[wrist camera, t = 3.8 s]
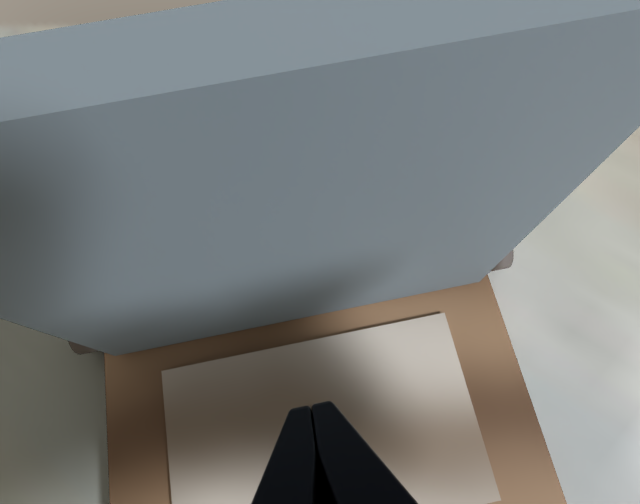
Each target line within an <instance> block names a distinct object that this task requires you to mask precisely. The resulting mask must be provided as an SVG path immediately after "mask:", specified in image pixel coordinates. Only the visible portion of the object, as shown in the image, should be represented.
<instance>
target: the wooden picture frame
mask: <svg viewBox="0 0 640 504" xmlns="http://www.w3.org/2000/svg"><path fill="white" fill-rule="evenodd" d="M512 262H513V250H512V251H511V252H510V253H509V254H507V255H506V256H505V257H504V258H503V259H502V260H501V261H500V262H499V263H498V264H497V265H496V266H495V267H494V268H493V269H492V270H491V271H495V270H500V269H505V268H509V267H510V266H511V265H512ZM68 342H69V344H70V346H71V348H72V350H73V351H74V352H75V353H77V354H85V353H90V352H95V351H98V350H95V349H92V348H89V347H86V346H83V345H80V344H77V343H74V342H71V341H68ZM104 362H105V389H106V415H107V442H108V469H109V495H110V504H251V503H252V500H253V498H254V495H255V493H256V491H257V488H258V486H259V483H260V481H261V478H262V476H263V473H264V471H265V468H266V466H267V464H268V461H269V459H270V456H271V454H272V451H273V449H274V446H275V444H276V442H277V439H278V437H279V434H280V432H281V429H282V427H283V424H284V422H285V419H286V417H287V415H288V412H289V411H290V410H291V409H292V408H297V407H302V406H306V405H308V406H310V407H312V405H313V404H316V403H320V402H325V401H332V402H333V403H334V404H335V405H336V407H337V408H338V409H339V410H340V411H341V412H342V414H343V415H344V416H345V417H346V418H347V420H348V421H349V422H350V423H351V424H352V426H353V427H354V428H355V429H356V430H357V431H358V433H359V434H360V435H361V436H362V437H363V439H364V440H365V441H366V442H367V443H368V444H369V446H370V447H371V448H372V449H373V450H374V452H375V453H376V454H377V455H378V456H379V458H380V459H381V460H382V461H383V462H384V463H385V465H386V466H387V467H388V468H389V469H390V471H391V472H392V473H393V474H394V475H395V477H396V478H397V479H398V480H399V481H400V482H401V484H402V485H403V486H404V487H405V488H406V490H407V491H408V492H409V493H410V494H411V496H412V497H413V498H414V499H415V500H416V501H417V503H418V504H567V503H566V500H565V497H564V494H563V491H562V489H561V486H560V483H559V480H558V477H557V474H556V471H555V468H554V465H553V462H552V460H551V457H550V454H549V451H548V448H547V445H546V442H545V439H544V436H543V434H542V431H541V428H540V425H539V422H538V419H537V416H536V413H535V410H534V408H533V405H532V402H531V399H530V396H529V393H528V390H527V387H526V384H525V382H524V379H523V376H522V373H521V370H520V367H519V364H518V361H517V358H516V356H515V353H514V350H513V347H512V344H511V341H510V338H509V335H508V332H507V330H506V327H505V324H504V321H503V318H502V315H501V312H500V309H499V306H498V304H497V301H496V298H495V295H494V292H493V289H492V286H491V283H490V280H489V278H488V275H486V276H485V277H484V278H483V279H482V280H481V281H480V282H476V283H471V284H467V285H462V286H457V287H452V288H447V289H442V290H437V291H432V292H427V293H422V294H417V295H413V296H408V297H403V298H398V299H393V300H388V301H383V302H378V303H373V304H368V305H363V306H358V307H354V308H349V309H344V310H339V311H334V312H329V313H324V314H319V315H314V316H309V317H304V318H300V319H295V320H290V321H285V322H280V323H275V324H270V325H265V326H260V327H255V328H250V329H245V330H241V331H236V332H231V333H226V334H221V335H216V336H211V337H206V338H201V339H196V340H191V341H187V342H182V343H177V344H172V345H167V346H162V347H157V348H152V349H147V350H142V351H137V352H132V353H128V354H123V355H118V356H114V355H111V354H107V353H104Z"/></svg>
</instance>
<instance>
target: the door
mask: <svg viewBox="0 0 640 504" xmlns="http://www.w3.org/2000/svg"><path fill="white" fill-rule="evenodd" d="M639 126H640V0H223V1H218V2H212V3H206V4H200V5H194V6H188V7H182V8H176V9H170V10H164V11H158V12H152V13H147V14H140V15H134V16H128V17H122V18H116V19H110V20H104V21H98V22H92V23H86V24H80V25H74V26H68V27H62V28H56V29H50V30H44V31H38V32H32V33H26V34H20V35H14V36H8V37H2V38H0V318H1V319H4V320H7V321H10V322H13V323H16V324H19V325H22V326H25V327H28V328H31V329H34V330H37V331H40V332H43V333H46V334H49V335H53V336H56V337H59V338H62V339H65V340H68V341H71V342H74V343H77V344H80V345H83V346H86V347H89V348H92V349H95V350H98V351H101V352H104V353H107V354H111V355H114V356H118V355H123V354H128V353H132V352H137V351H142V350H147V349H152V348H157V347H162V346H167V345H172V344H177V343H182V342H187V341H191V340H196V339H201V338H206V337H211V336H216V335H221V334H226V333H231V332H236V331H241V330H245V329H250V328H255V327H260V326H265V325H270V324H275V323H280V322H285V321H290V320H295V319H300V318H304V317H309V316H314V315H319V314H324V313H329V312H334V311H339V310H344V309H349V308H354V307H358V306H363V305H368V304H373V303H378V302H383V301H388V300H393V299H398V298H403V297H408V296H413V295H417V294H422V293H427V292H432V291H437V290H442V289H447V288H452V287H457V286H462V285H467V284H471V283H476V282H480V281H481V280H482V279H483V278H484V277H485V276H486V275H487V274H488V273H489V272H490V271H491V270H492V269H493V268H494V267H495V266H496V265H497V264H498V263H499V262H500V261H501V260H502V259H503V258H504V257H505V256H506V255H507V254H509V253H510V252H511V251H512V250H513V249H514V248H515V247H516V246H517V245H518V244H519V243H520V242H521V241H522V240H523V239H524V238H525V237H526V236H527V235H528V234H529V233H530V232H531V231H532V230H533V229H534V228H535V227H536V226H537V225H538V224H539V223H540V222H541V221H542V220H544V219H545V218H546V217H547V216H548V215H549V214H550V213H551V212H552V211H553V210H554V209H555V208H556V207H557V206H558V205H559V204H560V203H561V202H562V201H563V200H564V199H565V198H566V197H567V196H568V195H569V194H570V193H571V192H572V191H573V190H574V189H575V188H576V187H577V186H579V185H580V184H581V183H582V182H583V181H584V180H585V179H586V178H587V177H588V176H589V175H590V174H591V173H592V172H593V171H594V170H595V169H596V168H597V167H598V166H599V165H600V164H601V163H602V162H603V161H604V160H605V159H606V158H607V157H608V156H609V155H610V154H611V153H612V152H614V151H615V150H616V149H617V148H618V147H619V146H620V145H621V144H622V143H623V142H624V141H625V140H626V139H627V138H628V137H629V136H630V135H631V134H632V133H633V132H634V131H635V130H636V129H637V128H638V127H639Z"/></svg>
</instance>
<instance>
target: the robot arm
mask: <svg viewBox="0 0 640 504" xmlns="http://www.w3.org/2000/svg"><path fill="white" fill-rule="evenodd" d="M251 504H418V503H417V501H416V500H415V499H414V498H413V497H412V496H411V494H410V493H409V492H408V491H407V490H406V488H405V487H404V486H403V485H402V484H401V482H400V481H399V480H398V479H397V478H396V477H395V475H394V474H393V473H392V472H391V471H390V469H389V468H388V467H387V466H386V465H385V463H384V462H383V461H382V460H381V459H380V458H379V456H378V455H377V454H376V453H375V452H374V450H373V449H372V448H371V447H370V446H369V444H368V443H367V442H366V441H365V440H364V439H363V437H362V436H361V435H360V434H359V433H358V431H357V430H356V429H355V428H354V427H353V426H352V424H351V423H350V422H349V421H348V420H347V418H346V417H345V416H344V415H343V414H342V412H341V411H340V410H339V409H338V408H337V407H336V405H335V404H334V403H333V402H332V401H325V402H320V403H316V404H313V405H312V407H310V406H308V405H306V406H302V407H297V408H292V409H291V410H290V411H289V412H288V415H287V417H286V419H285V422H284V424H283V427H282V429H281V432H280V434H279V437H278V439H277V442H276V444H275V446H274V449H273V451H272V454H271V456H270V459H269V461H268V464H267V466H266V468H265V471H264V473H263V476H262V478H261V481H260V483H259V486H258V488H257V491H256V493H255V495H254V498H253V500H252V503H251Z"/></svg>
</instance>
